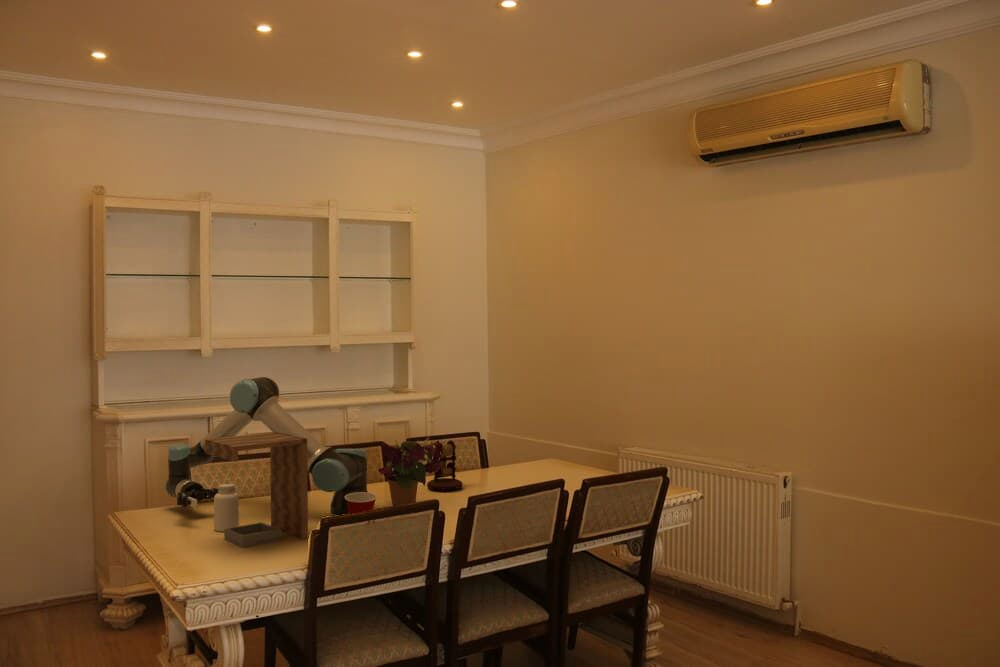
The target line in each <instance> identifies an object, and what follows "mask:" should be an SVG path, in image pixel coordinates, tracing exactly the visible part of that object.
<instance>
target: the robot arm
mask: <svg viewBox="0 0 1000 667" xmlns="http://www.w3.org/2000/svg"><path fill="white" fill-rule="evenodd" d="M279 397H280V388H279V386H278V383H276V381H274V380H273V379H271V377H270V378H269V377H265V376H260V377H255V378H254V377H253V378H245V379H242V380H239V381H237V382H236V383H234V385H233V386H232V387H231V389H230V393H229V402H230V405H231V407H232V408H233V410H232V411H231V412H230V413H229V414H228V415H227V416H226V417H225V418H224V419H222V420H221V421H220V422H219V423H218V424H217V425H216V426H215V427H213V429H212V430H211V431H209V432H208V433H207V434H205V436H204V437H203V438H202V439H200V441H199V442H197V443H196V444H195V445H194V446H192V447H190V446H189V445H188V444H176V445H175V444H173V445H171V446H170V447H169V448H168V455H167V459H168V461H167V462H168V464H167V465H168V478H167V479H166V482H165V484H164V491H165V492H166V493H167V494H168V495H169V496H170V497H172V498H176V499H177V500H176V505H177V506H181V505H182V506H183V508H187V506H188V507H189V506H190V507H192V508H194V509H198V503H199V502H201V500H211V499H214V496H215V495H216V494H217V493H219V492H218V488H216V487H211V488H204V487H203V485H202V484H201V483H199V482H196V481H193V480H191V469H193V468H196V467H198V466H203V465H207V464H208V463H211V462H212V461H213V460H214V457H215V456H212V455H209V454H205V439H214V438H224V437H233V436H238V434H239V433H240V432H241V431H242V430H244V429H245V427H247V426H248V425H249V424H250V423H251V422H252V421H254V422H261V423H263V424H264V425H265V426H266V427H267V428H268V430H270V431H271V433H272V432H278V433H283V434H287V435H292V436H297V437H302V438H307V473H309V474H310V475H311V477H312V481H313V484H314V485H315V487H316V488H318V489H319V490H320V491H322V492H326V493H333V496H332V499H331V502H330V508H329V509H330V513H331V514H333V515H336V516H337V515H338V516H341V515H340V514H348V513H349V511H348V506H347V502H346V500H345V496H346V495H347V494H350V493H356V492H367V493H369V492H368V456H367V450H365V449H363V448H362V449H361V448H336V449H334V447H332V446H324V445H323V443H321V442H320V441H319V440H318V438H316V437H315V436H314V435H313V434H311V433H310V432H309V430H307V429H306V428H305V427H304V426H303V425H302V424H301V423H300V422H298V420H296V418H295V417H293V416H292V415H291V414H290V413H289V412H288V411H287V410H286V409H284V408H283V406H281V405H280V404H279Z"/></svg>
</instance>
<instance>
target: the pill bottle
mask: <svg viewBox="0 0 1000 667" xmlns="http://www.w3.org/2000/svg"><path fill="white" fill-rule="evenodd" d="M217 486H218V487H217V489H218V492H219V493H217V494H216V495H215V496H214V498H213V529H214V531H217V532H221V533H222V532H223V533H224V529H227V528H233V527H238V526H240V525H239V524H240V523H239V521H240V519H239V518H240V517H239V516H240V513H239V511H240V510H239V505H240V504H239V494H238V493H237V492H235V489H236V486H235V484H234V483H221V484H219V485H217Z"/></svg>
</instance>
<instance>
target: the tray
mask: <svg viewBox="0 0 1000 667" xmlns="http://www.w3.org/2000/svg"><path fill="white" fill-rule="evenodd" d="M223 533H224V535H223V536H224V541H226V542H228V543H231V544H233V545H236V546H238V547H240V548H243V549H244V548H248V547H253V546H254V547H255V546H260V545H264V544H269V543H274V542H280V541H281V540H282V539H281V538H282V532H281V529H278V528H276V527H273V526H271V524H267V523H264V522H262V521H261V522H256V523H250V524H245V525H239V526H238V527H233V528H227V529H224V532H223Z"/></svg>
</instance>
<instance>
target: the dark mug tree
mask: <svg viewBox="0 0 1000 667" xmlns="http://www.w3.org/2000/svg"><path fill="white" fill-rule="evenodd" d="M437 442H438V443H440V444H441V445H442V449H441V455H440V469H439V470H438V471H437V472H435V473H434V472H433V475H434V478H433V479H431V480H429V481H428V482H427V483H426V487H427V488H428V490H430V489H435V490H441V492H442V493H445V491H446V490H453V489H459V490H462V489H463V486H464V484H463V481H461V480H459V479H457V478H456V476H457V475H456V470H457V467H456V460H457V456H456V448H457V445H456V444H455V442H454V441H453V440H451V439H450V440H448V442H446V444H442V443H441V442H440V441H437ZM448 461H449V462H448ZM450 461H451V462H450ZM447 462H448V463H447Z"/></svg>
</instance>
